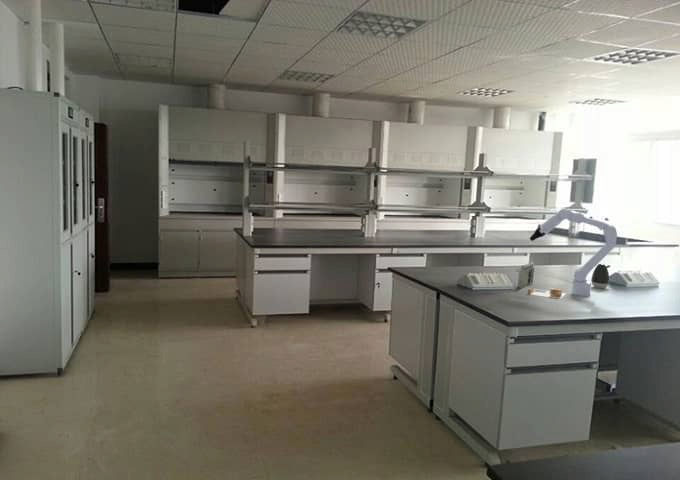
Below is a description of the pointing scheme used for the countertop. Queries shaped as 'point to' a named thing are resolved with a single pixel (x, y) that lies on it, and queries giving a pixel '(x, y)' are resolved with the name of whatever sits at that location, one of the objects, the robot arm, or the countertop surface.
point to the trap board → (546, 294)
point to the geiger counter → (526, 275)
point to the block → (556, 292)
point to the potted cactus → (600, 276)
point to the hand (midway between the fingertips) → (531, 239)
